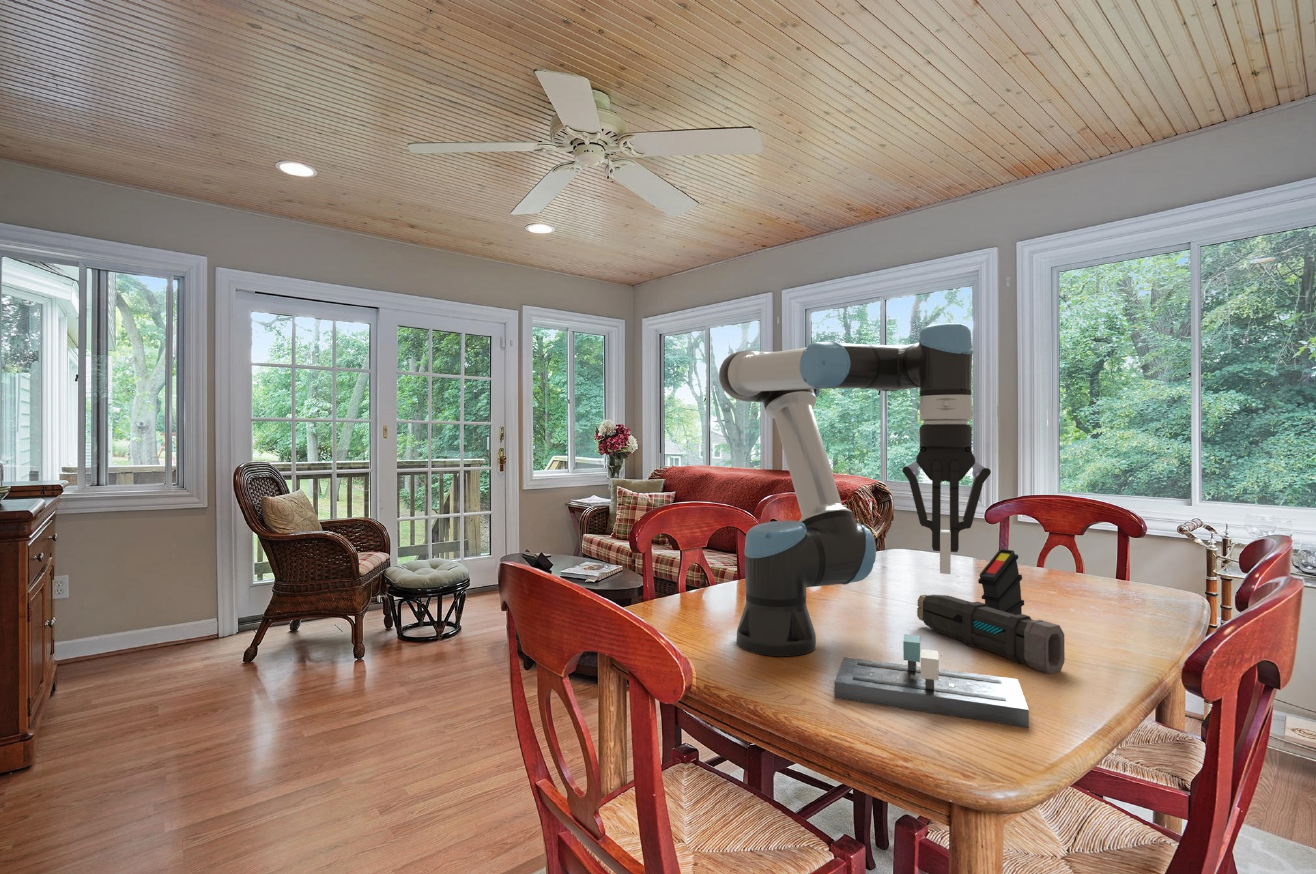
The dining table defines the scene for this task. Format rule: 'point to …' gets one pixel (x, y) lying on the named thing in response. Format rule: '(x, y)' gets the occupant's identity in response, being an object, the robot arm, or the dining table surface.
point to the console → (933, 691)
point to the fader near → (929, 667)
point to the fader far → (911, 650)
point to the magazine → (1002, 583)
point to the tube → (996, 631)
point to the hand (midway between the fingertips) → (945, 571)
